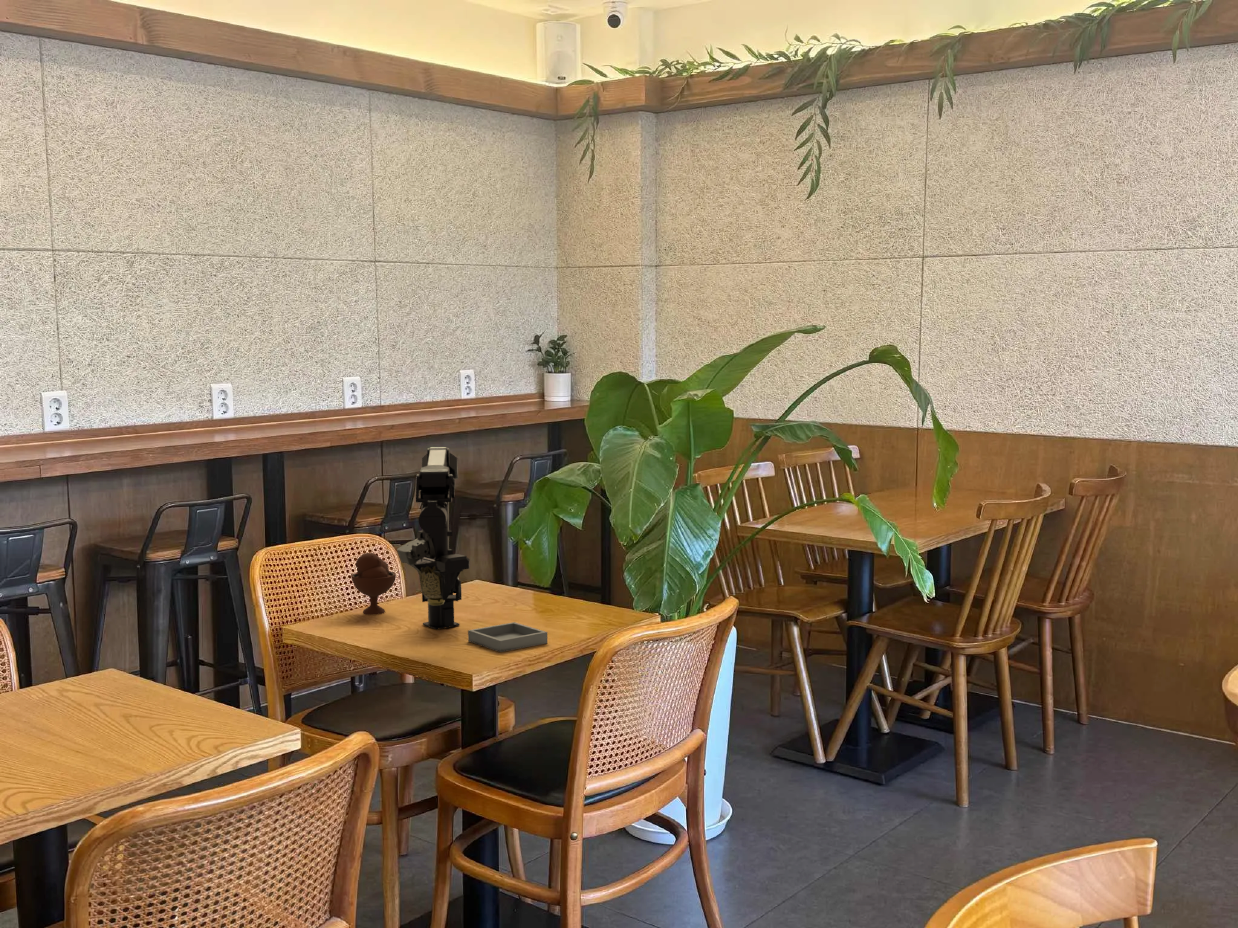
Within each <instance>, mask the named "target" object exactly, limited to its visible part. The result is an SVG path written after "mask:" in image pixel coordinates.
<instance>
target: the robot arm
mask: <svg viewBox="0 0 1238 928" xmlns="http://www.w3.org/2000/svg"><path fill="white" fill-rule="evenodd" d="M426 452H427V453H426V454H425V455H423V456H422V457H421V468H420V470H419V474H416V478H415V479H416V481H415V482H416V485H415V503H418V504H419V503H422V505H421V511H420V513H419V516H418V525H419V527H420V529H421V530H418V531H417V532H416V539H414V540H410V541H408V542H407V543H404V544H403V545H401V546H399V547H398V548H396V549H397V550H396V551H397V554H398V555H399V559H400V562H401V564H404V563H405V564H407V565H409V566H411V567H413V569H415V570H416V572H417V573H418V574H417V575H419V571H418V569H419V570H420V571H421V567H423V568H425V567H426V566H428V567H430V568H431V569H433V567H434V566H435V568H436V570H434V572H435V573H436V574H437V575H438V576H439V581H440V591H441V597H442V600H445V602H444V604H442V605H439V606H432V605H429V604H428V598H427V597H426V596H424V594H423V593H422V592H421V601H422V603H424V602H425V603H426V602H427V608H428V609H427V611H428V612H427V615H428V618H427V620H428V621H426V622H425V621H424V622H422V625H423V626H424V627H428V628H431V629H434V630H441V629H446V628H447V629H448V628H452V627H459V626H460V622H456V621H455V607H454V606H455V605H454V604H455V603H454V602H459V601H462V581H461V580H460V578H459V575H460V574H461V572H463V571H464V570H469V569H471V564H470V563H471V560H470V558H469V557H468V556H467V555H464V554H459V553H454V552H453V549H451V548H450V547H449V546H450V545H449V544H450V543H449V542H450V540H449V539H450V537H451V536H453V530H450V529H449V527H450V524H449V523H450V522H449V521H450V513H449V512H450V503H452V502H453V499H455V497H456V496H455V495H456V494H455V491H456V480H458V479H459V463H458V461H459V460H458V457H457V456H456V455H454V454H452V453H451V452H450V448H449V447H447V446H430V447H427V451H426ZM437 568H438V570H437Z"/></svg>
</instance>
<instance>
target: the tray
mask: <svg viewBox="0 0 1238 928" xmlns="http://www.w3.org/2000/svg"><path fill="white" fill-rule="evenodd" d="M467 635H468V636H467V640H468V643H472V644H475V645H478V646H481V647H483V648H487V649H489V650H493V651H496V652H498V653H504V652H509V651H515V650H517V649H518V650H519V649H520V650H521V649H525V648H529V647H535V646H541V645H546V644H548V631H546V630H541V629H538V628H535V627H532V626H529V625H525V624H521V623H519V622H516V621H514V622H508V623H502V624H497V625H495V624H494V625H491V626H490V625H489V626H484V627H478V628H474V629H473V628H472V629H469V630H467Z"/></svg>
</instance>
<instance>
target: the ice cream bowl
mask: <svg viewBox="0 0 1238 928" xmlns="http://www.w3.org/2000/svg"><path fill="white" fill-rule="evenodd" d="M355 567H356V568H357V572H355V573H352V574H351V573H350V576H351V577H350V578H351V581H352V583H353V585H354V587H355V589H356V590H357V591H358V592H360V593H361V594H363V595H365V596H367V597H369V599H370V602H369V603H370V605H369V606H367V607H366V608H364V609H363V611H362V613H364V614H363V615H368V616H372V615H373V616H374V615H375V616H376V615H382V613H383V614H385V613H386V610H385V608H384V607H381V606H379V605H378V599H379V596H381V595H383V594H385V593H387V592H388V591H389V590H390V589H391V588H392V587H393V586H394V583H395V581H396V577H397V574H396V573H395V572H394V571H390V569H389V563H387V562H386V561H384V560H383V559H382V558H381V557H380V556H379V555H377V554H376V553H374V552H366V553H362V554H361V555H360V556H359V557H357V559H356V562H355ZM384 612H385V613H384Z"/></svg>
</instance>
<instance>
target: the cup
mask: <svg viewBox="0 0 1238 928" xmlns="http://www.w3.org/2000/svg"><path fill="white" fill-rule="evenodd" d="M434 570H436V568H435V566H434V567H433V569H431V568H430V567H428V566H426V567H425V568H423V567H421V571H420V570H419V569H418V571H419V574H418V578H419V583H420V584H419V585H420V590H421V594H422V593H423V594H424V596H426V597H427V598H428V602H427V605H428V604H429V605H432V606H439V605H442V604H444V602H445V600H442V597H441V591H440V581H439V576H438V575H437V574H436V573H435V572H434ZM437 570H438V568H437ZM418 571H417V572H418Z"/></svg>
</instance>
